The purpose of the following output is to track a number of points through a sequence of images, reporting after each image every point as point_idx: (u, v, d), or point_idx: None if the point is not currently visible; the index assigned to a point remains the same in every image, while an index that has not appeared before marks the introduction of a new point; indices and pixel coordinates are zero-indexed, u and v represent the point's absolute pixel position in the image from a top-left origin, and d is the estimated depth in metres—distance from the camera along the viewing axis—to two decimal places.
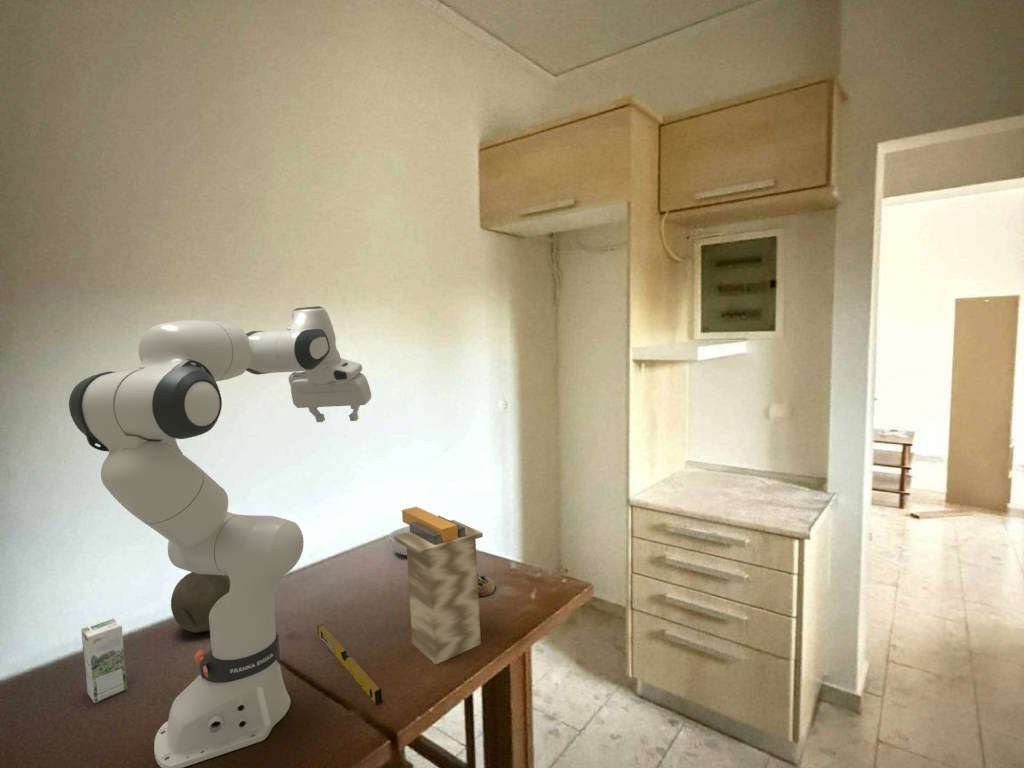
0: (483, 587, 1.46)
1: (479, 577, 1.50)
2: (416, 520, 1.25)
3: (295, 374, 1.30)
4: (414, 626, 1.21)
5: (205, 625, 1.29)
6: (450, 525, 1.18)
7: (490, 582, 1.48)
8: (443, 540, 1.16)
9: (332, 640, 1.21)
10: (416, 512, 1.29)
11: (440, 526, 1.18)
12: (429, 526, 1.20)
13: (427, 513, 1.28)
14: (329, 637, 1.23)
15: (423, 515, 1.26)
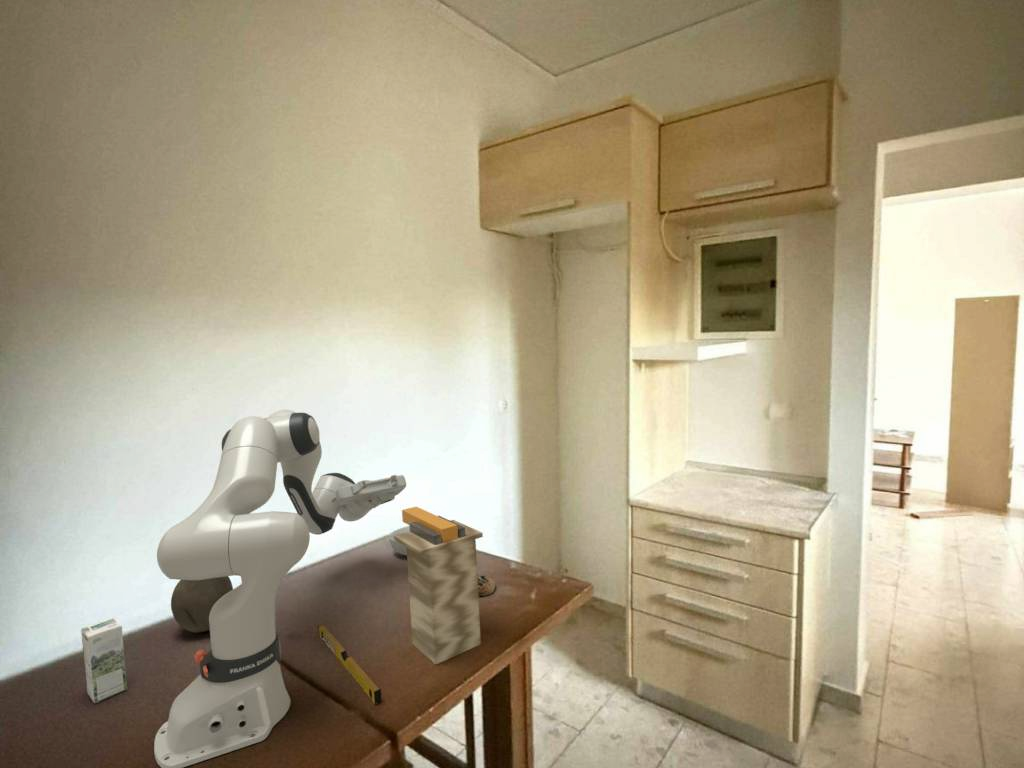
0: (483, 587, 1.46)
1: (479, 577, 1.50)
2: (416, 520, 1.25)
3: None
4: (414, 626, 1.21)
5: (205, 625, 1.29)
6: (450, 525, 1.18)
7: (490, 582, 1.49)
8: (443, 540, 1.16)
9: (332, 640, 1.21)
10: (416, 512, 1.29)
11: (440, 526, 1.18)
12: (429, 526, 1.20)
13: (427, 513, 1.28)
14: (329, 637, 1.23)
15: (423, 515, 1.26)
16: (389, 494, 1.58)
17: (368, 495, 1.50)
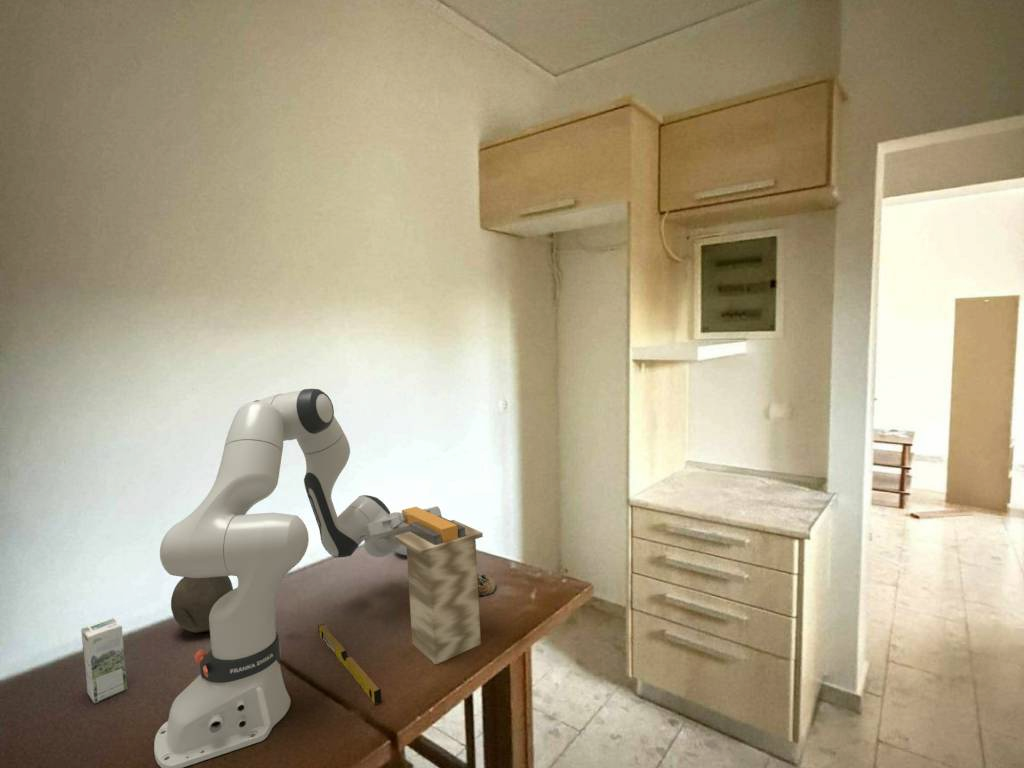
0: (483, 586, 1.46)
1: (479, 576, 1.50)
2: (416, 520, 1.25)
3: None
4: (414, 626, 1.21)
5: (205, 625, 1.29)
6: (450, 525, 1.18)
7: (490, 581, 1.49)
8: (443, 540, 1.16)
9: (332, 640, 1.21)
10: (416, 512, 1.29)
11: (440, 526, 1.18)
12: (429, 526, 1.20)
13: (427, 513, 1.28)
14: (329, 637, 1.23)
15: (422, 515, 1.26)
16: None
17: (401, 530, 1.34)
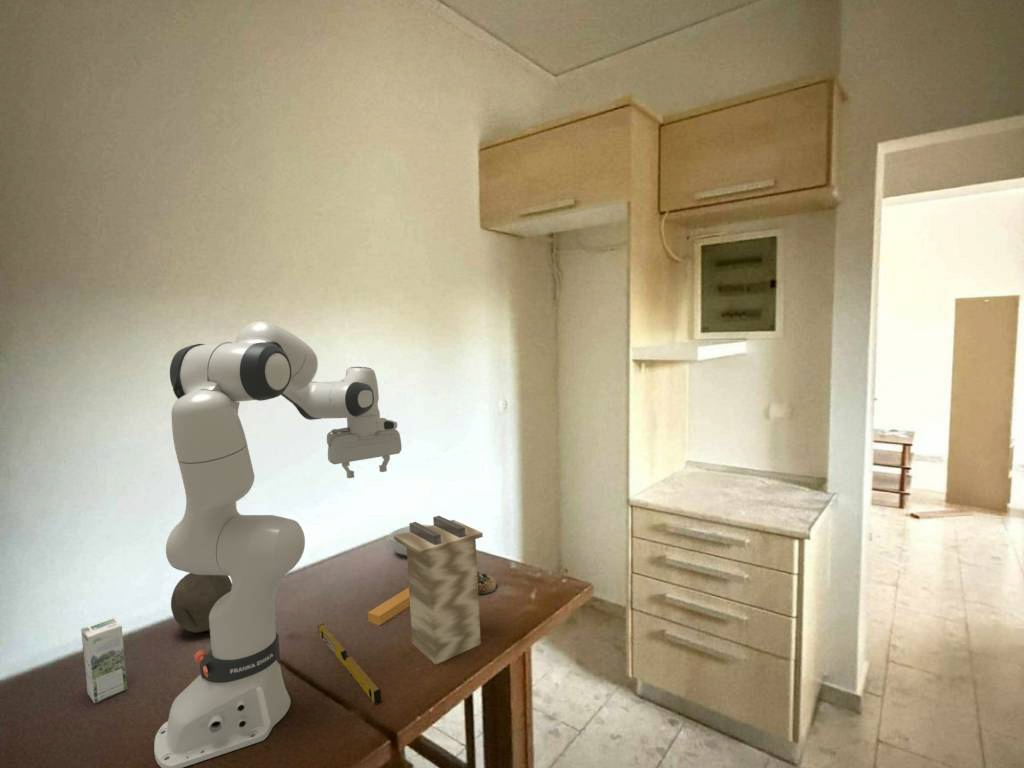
0: (484, 585, 1.47)
1: (481, 575, 1.51)
2: None
3: (336, 430, 1.40)
4: (414, 626, 1.21)
5: (205, 625, 1.29)
6: (377, 613, 1.33)
7: (491, 580, 1.50)
8: None
9: (332, 640, 1.22)
10: None
11: (376, 609, 1.35)
12: None
13: None
14: (329, 637, 1.23)
15: (404, 593, 1.43)
16: None
17: None
